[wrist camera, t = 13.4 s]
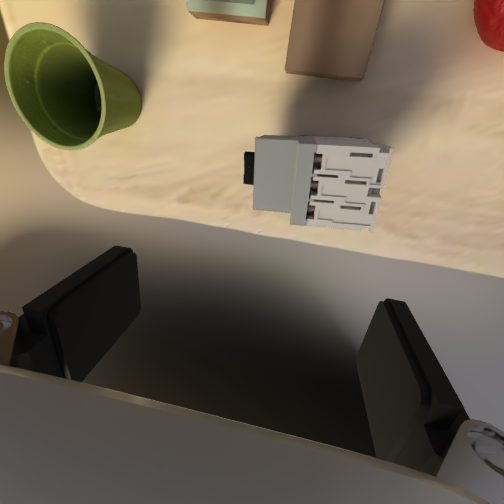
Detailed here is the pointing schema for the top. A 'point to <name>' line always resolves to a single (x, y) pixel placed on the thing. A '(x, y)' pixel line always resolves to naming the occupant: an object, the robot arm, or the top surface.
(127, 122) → the plant pot
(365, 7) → the stand
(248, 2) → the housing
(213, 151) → the top surface
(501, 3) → the pomegranate
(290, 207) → the circuit breaker
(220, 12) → the stand
